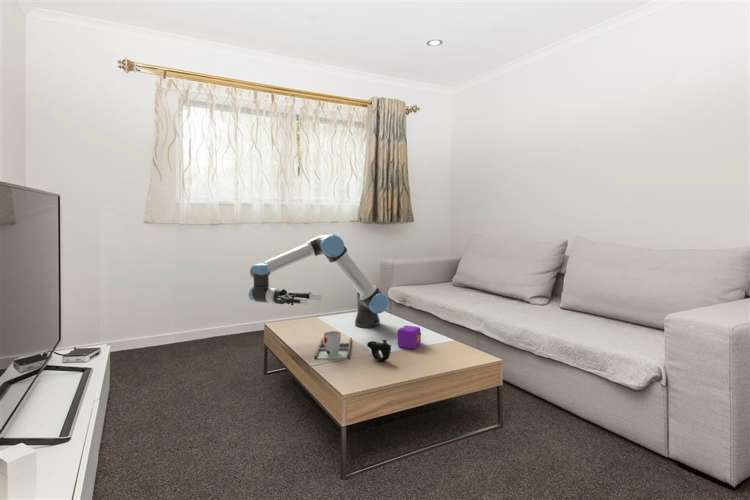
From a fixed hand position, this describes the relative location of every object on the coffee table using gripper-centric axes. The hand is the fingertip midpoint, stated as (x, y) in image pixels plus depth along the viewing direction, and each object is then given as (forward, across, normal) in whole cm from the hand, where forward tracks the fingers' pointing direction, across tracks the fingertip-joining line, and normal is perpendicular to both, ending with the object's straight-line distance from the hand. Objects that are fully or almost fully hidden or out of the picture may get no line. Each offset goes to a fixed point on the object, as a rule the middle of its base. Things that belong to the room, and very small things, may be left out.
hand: (314, 299), depth 200 cm
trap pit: (+7, -9, -25) cm, 28 cm away
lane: (+7, -8, -25) cm, 28 cm away
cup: (+10, -1, -26) cm, 28 cm away
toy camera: (+40, -26, -24) cm, 54 cm away
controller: (+34, -1, -26) cm, 43 cm away
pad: (+10, 0, -26) cm, 28 cm away
